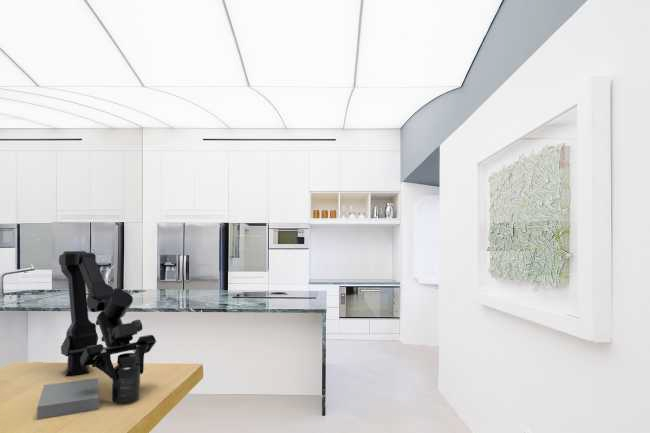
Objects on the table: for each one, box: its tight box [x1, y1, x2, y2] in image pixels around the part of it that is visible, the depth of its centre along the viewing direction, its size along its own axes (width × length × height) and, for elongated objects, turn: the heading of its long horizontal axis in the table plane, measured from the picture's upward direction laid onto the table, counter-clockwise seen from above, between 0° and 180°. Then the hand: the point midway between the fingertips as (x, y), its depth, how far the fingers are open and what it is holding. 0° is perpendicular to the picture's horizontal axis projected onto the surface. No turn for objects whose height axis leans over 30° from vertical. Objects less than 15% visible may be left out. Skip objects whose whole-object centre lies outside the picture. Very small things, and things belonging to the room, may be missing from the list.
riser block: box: [36, 377, 100, 420], centre depth 109 cm, size 16×13×3 cm
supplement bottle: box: [111, 352, 141, 405], centre depth 112 cm, size 7×7×12 cm
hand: (129, 376), depth 111 cm, fingers closed on supplement bottle, 7 cm apart
